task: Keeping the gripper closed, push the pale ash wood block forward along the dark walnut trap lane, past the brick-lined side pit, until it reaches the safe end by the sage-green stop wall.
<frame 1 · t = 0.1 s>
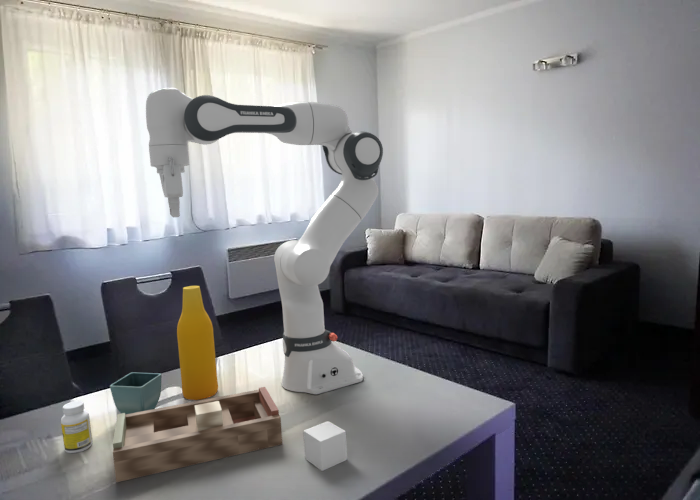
hand: (174, 216, 124), 48 cm above the table, fingers open, 8 cm apart
white cube: (326, 460, 101), on the table
beer bottle: (200, 394, 136), on the table
ash block: (209, 430, 106), point 4 cm above the table, touching trap lane
flower pot: (139, 414, 125), on the table
trap lane: (200, 443, 109), on the table
supplement bottle: (78, 448, 110), on the table
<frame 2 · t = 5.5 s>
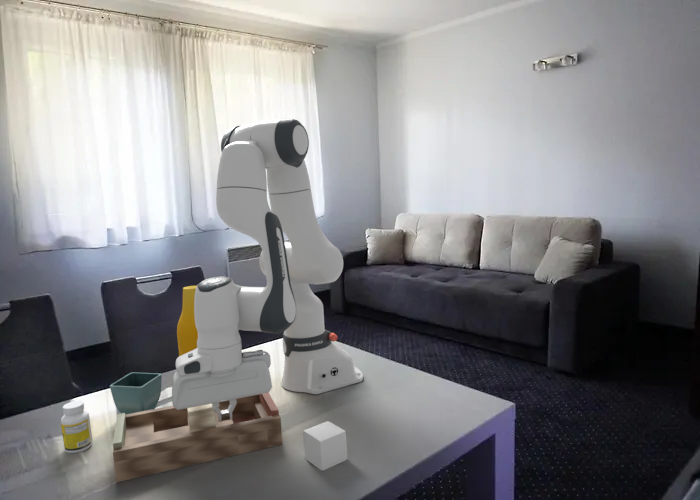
hand: (225, 419, 107), 6 cm above the table, fingers closed
ash block: (202, 431, 106), point 4 cm above the table, touching gripper
everything else where it was.
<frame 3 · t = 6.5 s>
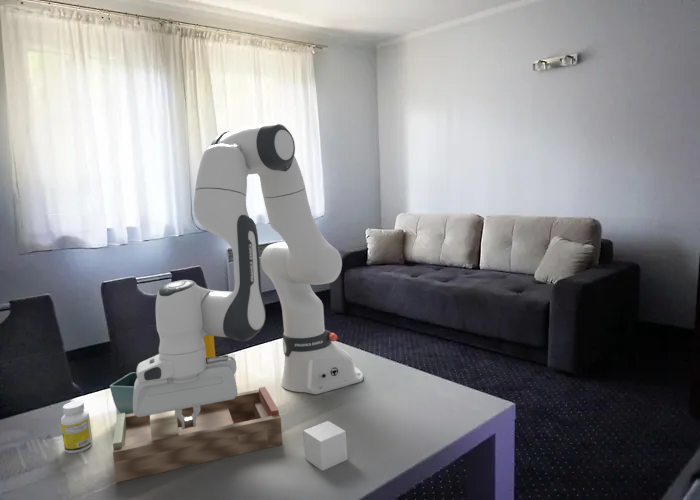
hand: (189, 426, 104), 6 cm above the table, fingers closed
ash block: (165, 439, 103), point 4 cm above the table, touching gripper
everything else where it was.
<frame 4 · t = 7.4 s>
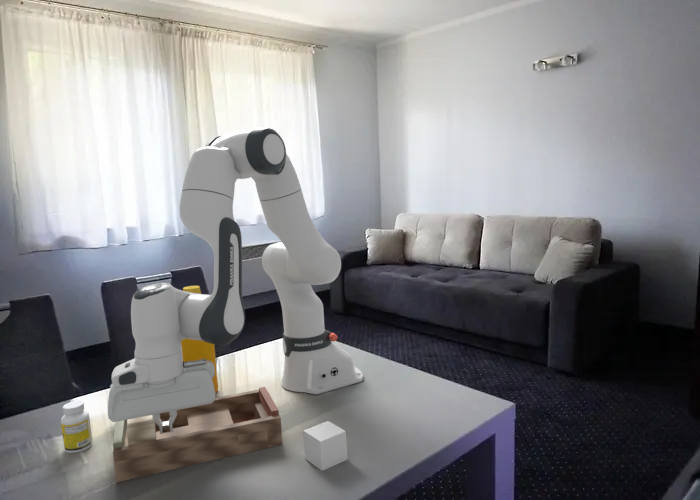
hand: (166, 431, 103), 6 cm above the table, fingers closed
ash block: (143, 444, 102), point 4 cm above the table, touching gripper, trap lane
everything else where it was.
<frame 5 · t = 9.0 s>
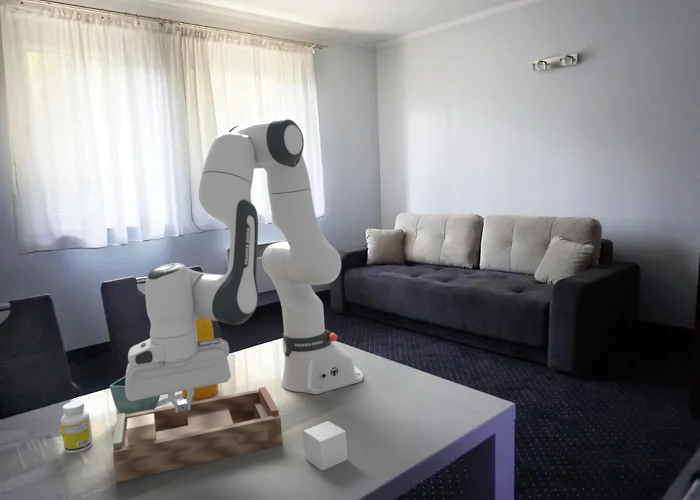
hand: (183, 410, 104), 9 cm above the table, fingers closed
ash block: (143, 444, 102), point 4 cm above the table, touching trap lane
everything else where it was.
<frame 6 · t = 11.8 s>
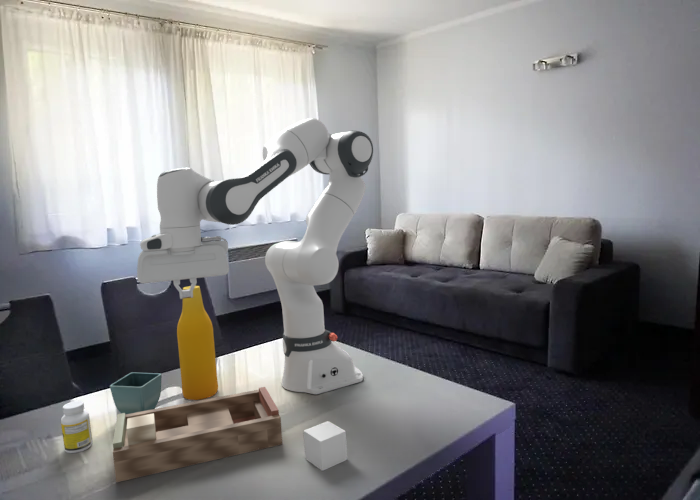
hand: (186, 297, 119), 29 cm above the table, fingers closed
nothing on the table moved.
at the end: ash block 0.2 cm from the target spot on the trap lane, point 4.0 cm above the trap lane's base; ash block tilted 0° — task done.
